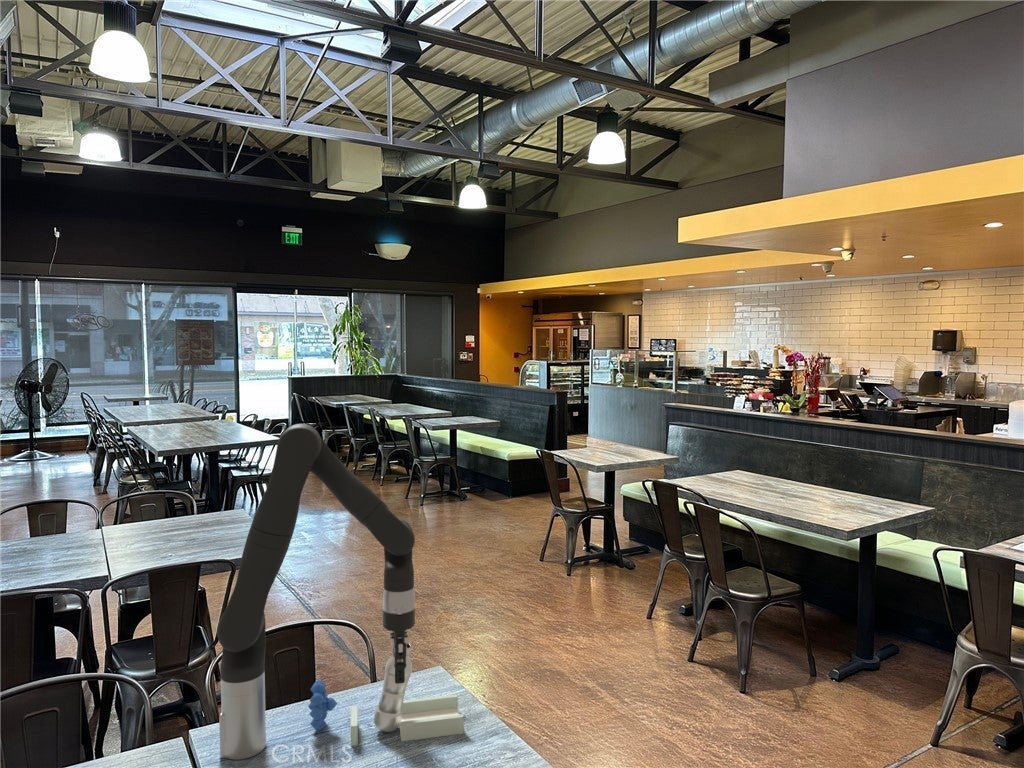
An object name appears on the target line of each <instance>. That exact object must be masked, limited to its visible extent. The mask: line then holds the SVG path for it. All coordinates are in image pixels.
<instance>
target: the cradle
mask: <svg viewBox="0 0 1024 768" xmlns="http://www.w3.org/2000/svg"><path fill="white" fill-rule="evenodd" d="M458 701H459V700H458V694H449V695H440V696H431V697H430V696H429V697H423V698H415V699H405V700H404V699H403V706H402V720H401V722H400V725H399V727H398V728H399V736H400V741H401V742H409V741H414V740H415V741H417V740H423V739H424V740H425V739H431V738H438V737H439V738H440V737H446V736H447V737H448V736H454V735H461V734H464V731H465V730H464V727H465V726H464V722H465V721H464V714H460V711H459V708H458V706H459V705H458V703H459V702H458Z"/></svg>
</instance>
